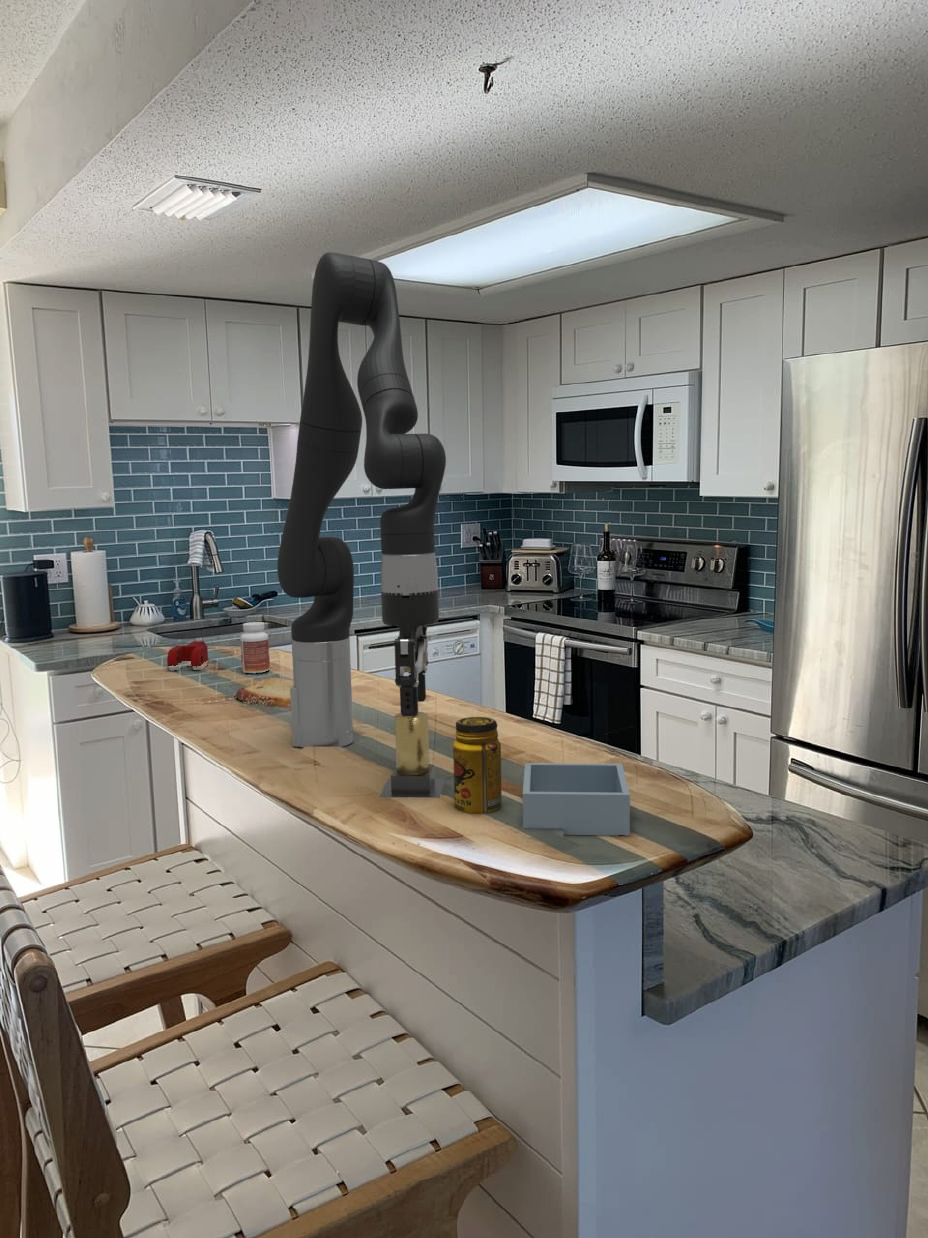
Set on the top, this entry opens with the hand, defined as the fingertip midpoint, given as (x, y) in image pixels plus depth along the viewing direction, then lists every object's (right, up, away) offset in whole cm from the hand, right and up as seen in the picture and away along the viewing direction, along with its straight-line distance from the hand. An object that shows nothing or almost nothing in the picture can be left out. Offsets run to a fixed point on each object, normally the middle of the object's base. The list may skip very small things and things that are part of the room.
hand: (413, 708), depth 130 cm
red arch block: (-57, +1, +97) cm, 113 cm away
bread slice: (-28, -4, +61) cm, 67 cm away
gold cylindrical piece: (0, -11, +2) cm, 11 cm away
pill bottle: (-40, 0, +88) cm, 96 cm away
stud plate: (0, -12, +2) cm, 12 cm away
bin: (+21, -13, -9) cm, 26 cm away
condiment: (+9, -13, -5) cm, 17 cm away
